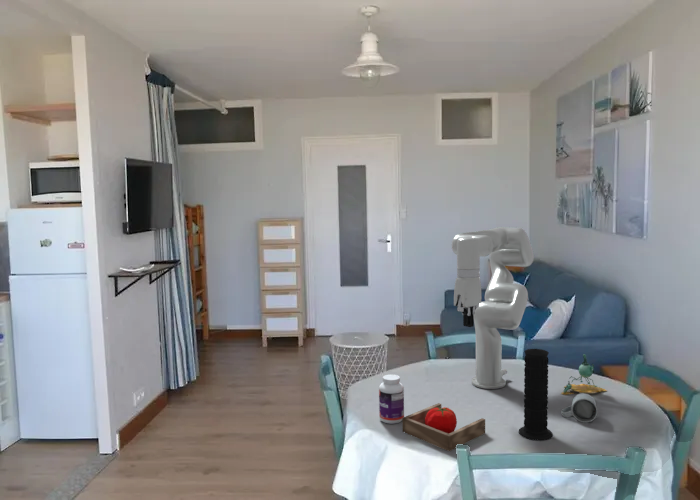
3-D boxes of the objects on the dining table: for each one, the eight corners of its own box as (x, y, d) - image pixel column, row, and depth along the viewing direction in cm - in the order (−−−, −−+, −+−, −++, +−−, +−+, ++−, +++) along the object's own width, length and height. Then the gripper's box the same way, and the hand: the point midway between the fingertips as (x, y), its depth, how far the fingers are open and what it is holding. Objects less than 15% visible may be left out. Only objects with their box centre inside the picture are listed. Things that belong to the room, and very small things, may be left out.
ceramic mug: (595, 414, 188) (595, 391, 188) (597, 423, 181) (597, 400, 180) (561, 411, 192) (561, 388, 191) (561, 420, 184) (561, 397, 184)
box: (438, 416, 190) (438, 403, 189) (485, 433, 176) (485, 419, 176) (402, 431, 179) (402, 417, 178) (449, 451, 165) (449, 436, 164)
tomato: (419, 436, 175) (419, 409, 174) (437, 425, 183) (436, 399, 182) (446, 444, 169) (446, 417, 168) (463, 432, 177) (463, 406, 176)
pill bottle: (375, 417, 190) (374, 375, 189) (397, 413, 193) (396, 371, 192) (386, 426, 183) (385, 382, 181) (408, 422, 186) (407, 379, 184)
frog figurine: (552, 387, 213) (557, 348, 212) (599, 391, 214) (604, 352, 213) (563, 397, 204) (568, 356, 203) (612, 400, 205) (617, 359, 204)
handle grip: (544, 425, 181) (513, 427, 180) (545, 343, 178) (513, 344, 177) (558, 439, 171) (525, 441, 170) (560, 352, 168) (526, 354, 167)
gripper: (472, 269, 204) (472, 320, 206) (445, 275, 194) (445, 328, 196) (490, 272, 199) (490, 324, 201) (463, 277, 189) (463, 332, 191)
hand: (468, 326), depth 199 cm, fingers closed
